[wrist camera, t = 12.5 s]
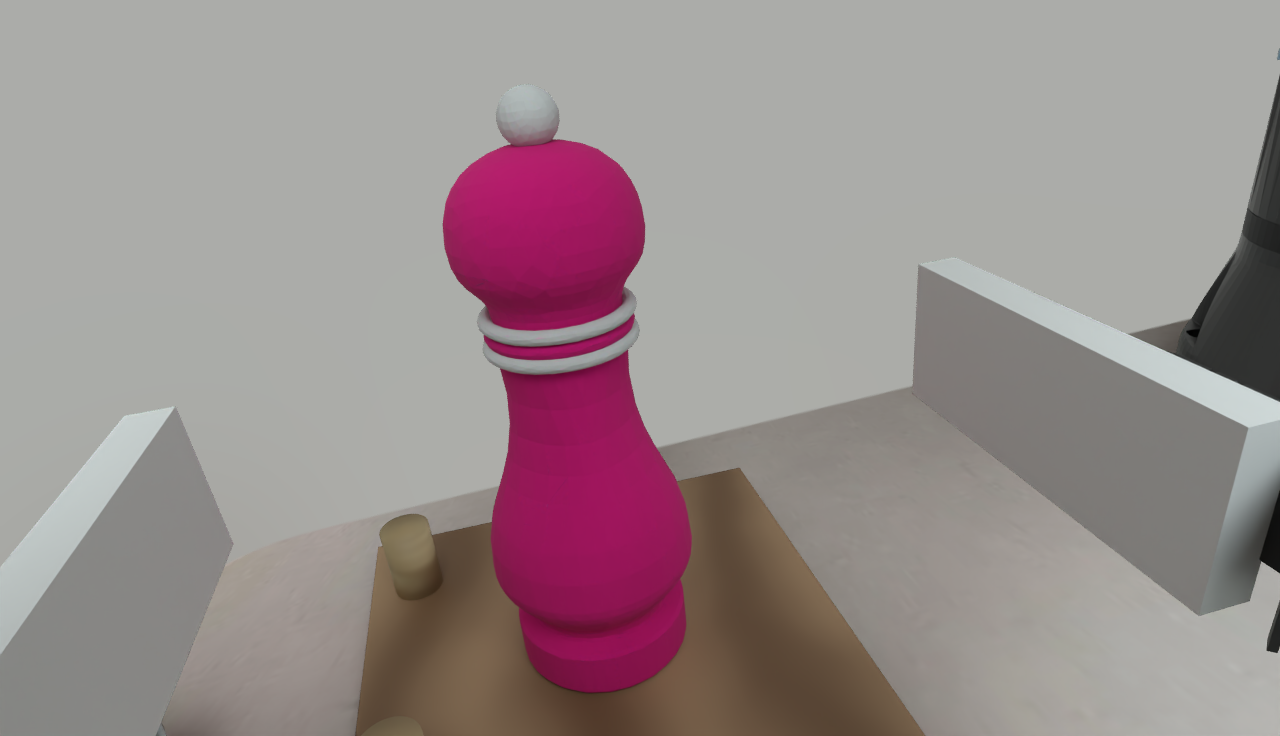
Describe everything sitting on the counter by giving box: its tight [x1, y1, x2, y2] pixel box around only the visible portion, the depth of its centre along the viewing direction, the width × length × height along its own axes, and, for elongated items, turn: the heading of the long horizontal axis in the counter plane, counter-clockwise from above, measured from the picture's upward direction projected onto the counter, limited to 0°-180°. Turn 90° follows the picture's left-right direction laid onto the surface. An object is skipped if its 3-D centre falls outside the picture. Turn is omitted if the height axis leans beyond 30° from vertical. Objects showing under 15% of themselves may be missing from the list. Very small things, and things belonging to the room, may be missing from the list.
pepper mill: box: [443, 84, 692, 693], centre depth 26 cm, size 7×7×20 cm
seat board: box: [355, 468, 925, 736], centre depth 29 cm, size 18×18×4 cm
